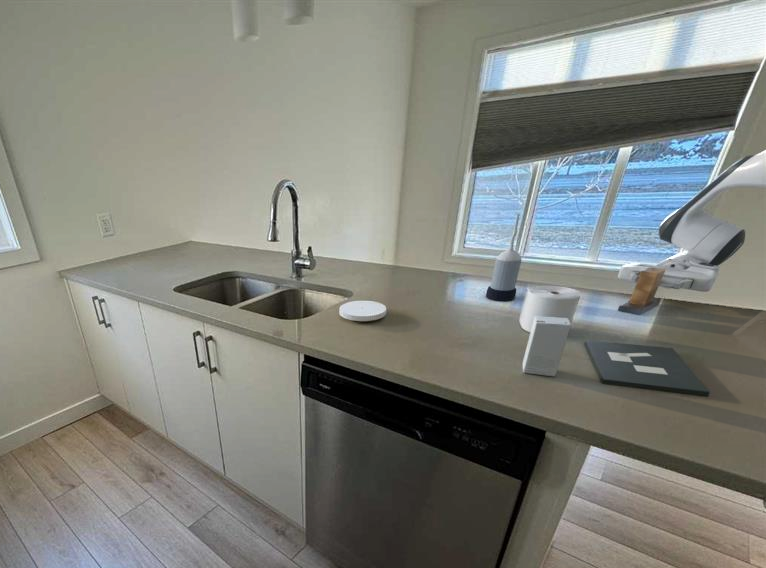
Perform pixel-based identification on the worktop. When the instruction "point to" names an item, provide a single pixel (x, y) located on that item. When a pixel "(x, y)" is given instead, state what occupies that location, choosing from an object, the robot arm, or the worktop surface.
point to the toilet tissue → (548, 304)
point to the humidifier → (505, 272)
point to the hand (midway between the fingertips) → (653, 282)
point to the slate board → (643, 367)
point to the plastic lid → (362, 310)
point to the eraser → (644, 292)
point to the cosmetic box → (546, 345)
